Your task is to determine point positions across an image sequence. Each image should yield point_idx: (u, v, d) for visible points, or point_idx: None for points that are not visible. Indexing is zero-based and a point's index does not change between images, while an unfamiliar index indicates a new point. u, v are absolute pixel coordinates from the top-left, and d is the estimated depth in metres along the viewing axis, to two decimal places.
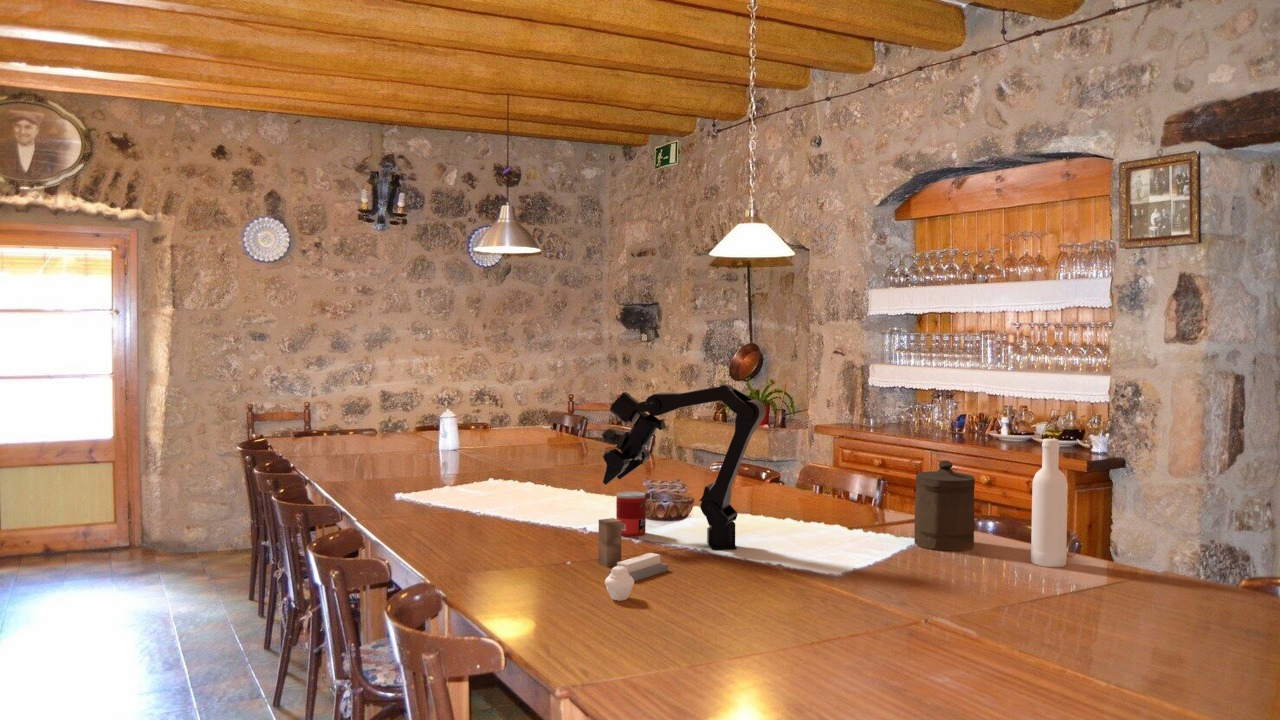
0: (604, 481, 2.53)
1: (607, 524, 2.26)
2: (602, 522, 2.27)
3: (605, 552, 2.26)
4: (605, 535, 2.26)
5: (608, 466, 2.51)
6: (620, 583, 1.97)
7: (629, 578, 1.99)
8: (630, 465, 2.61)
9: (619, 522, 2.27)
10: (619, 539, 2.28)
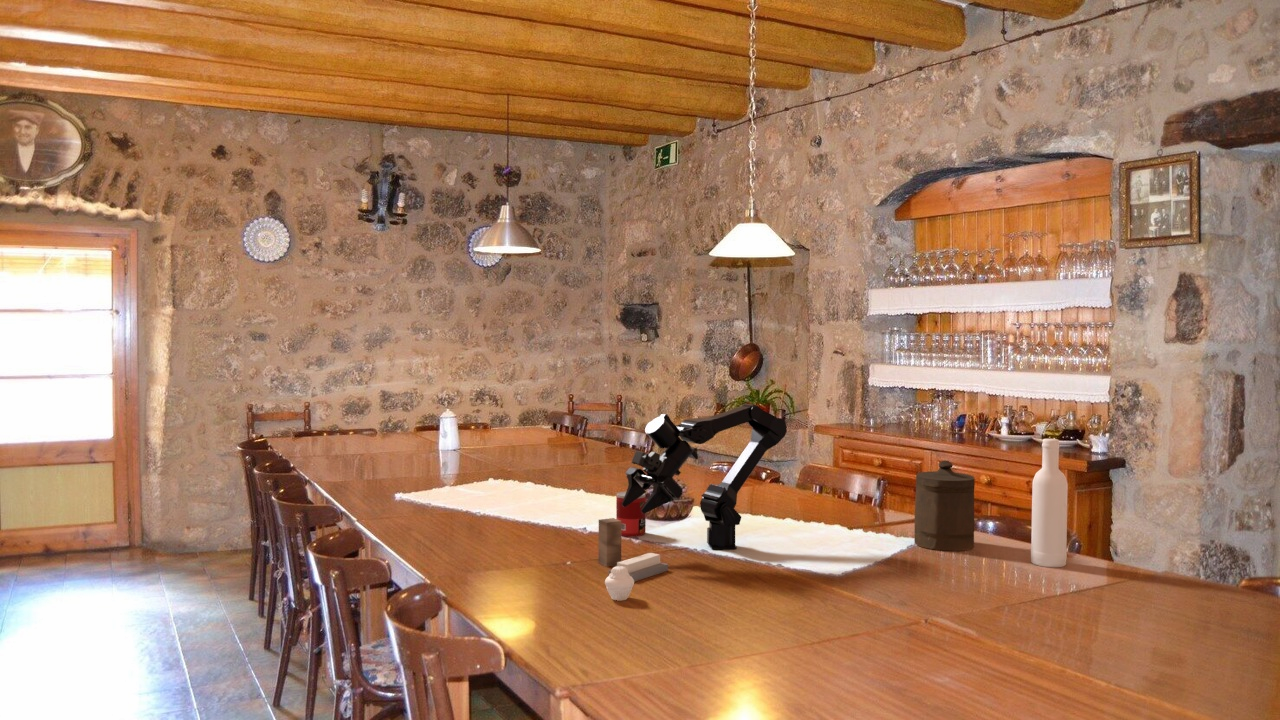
0: (644, 510, 2.27)
1: (607, 524, 2.26)
2: (602, 522, 2.27)
3: (605, 552, 2.26)
4: (605, 535, 2.26)
5: (656, 494, 2.27)
6: (620, 583, 1.97)
7: (629, 578, 1.99)
8: (637, 492, 2.38)
9: (619, 522, 2.27)
10: (619, 539, 2.28)
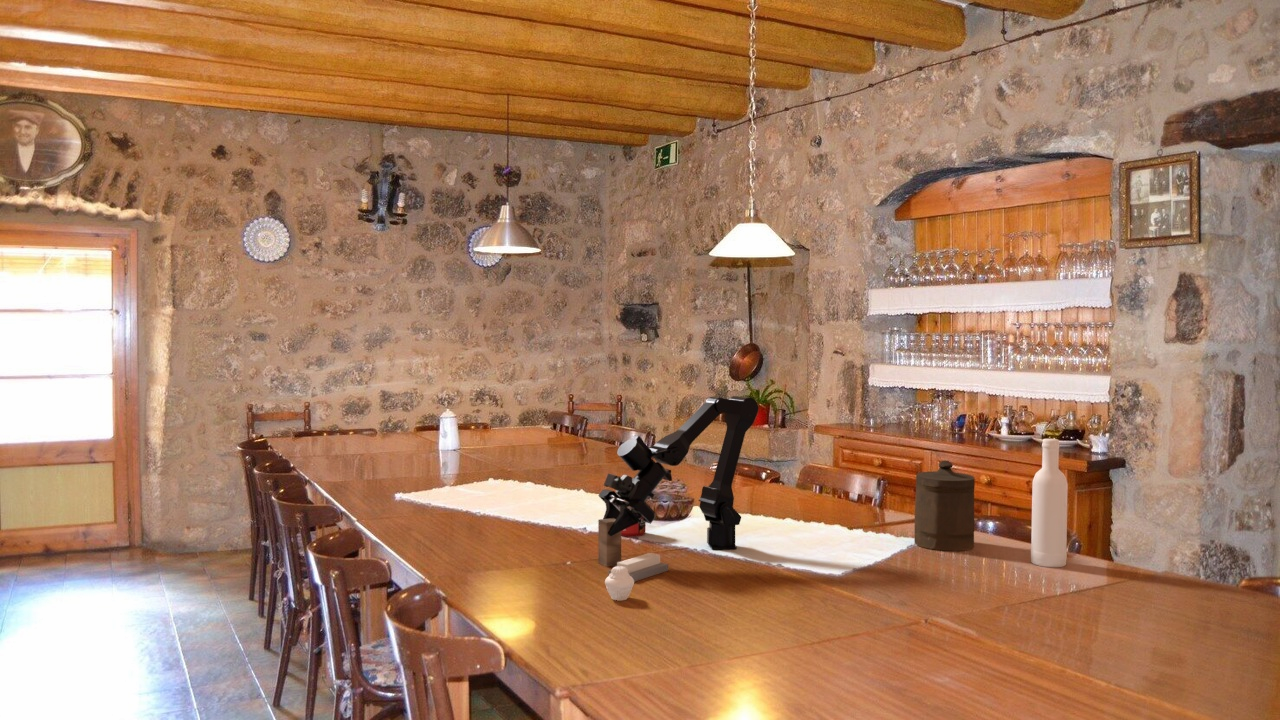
0: (611, 532, 2.26)
1: (606, 524, 2.26)
2: (602, 522, 2.27)
3: (605, 552, 2.26)
4: (605, 535, 2.26)
5: (623, 516, 2.26)
6: (620, 583, 1.97)
7: (629, 578, 1.99)
8: (615, 516, 2.32)
9: None
10: (619, 539, 2.28)
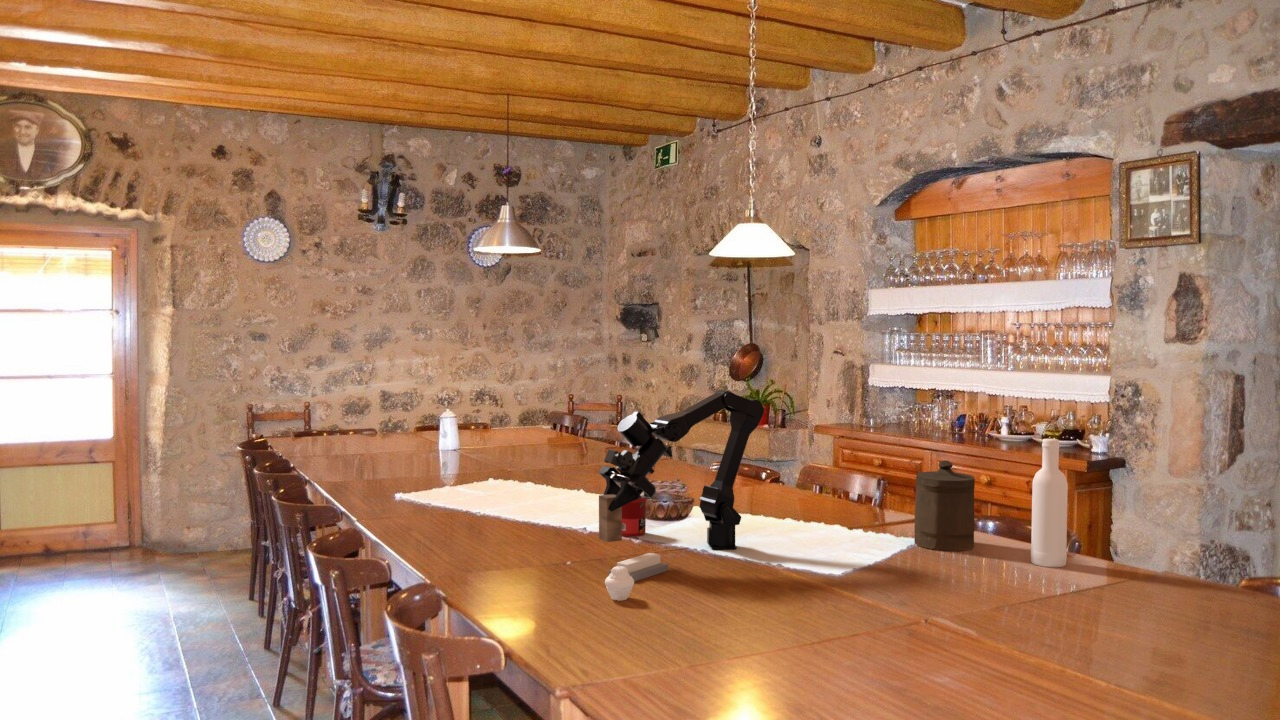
0: (611, 507, 2.25)
1: (607, 499, 2.25)
2: (602, 498, 2.27)
3: (605, 528, 2.26)
4: (605, 511, 2.26)
5: (624, 491, 2.25)
6: (620, 583, 1.97)
7: (629, 578, 1.99)
8: (615, 493, 2.32)
9: None
10: (619, 515, 2.27)
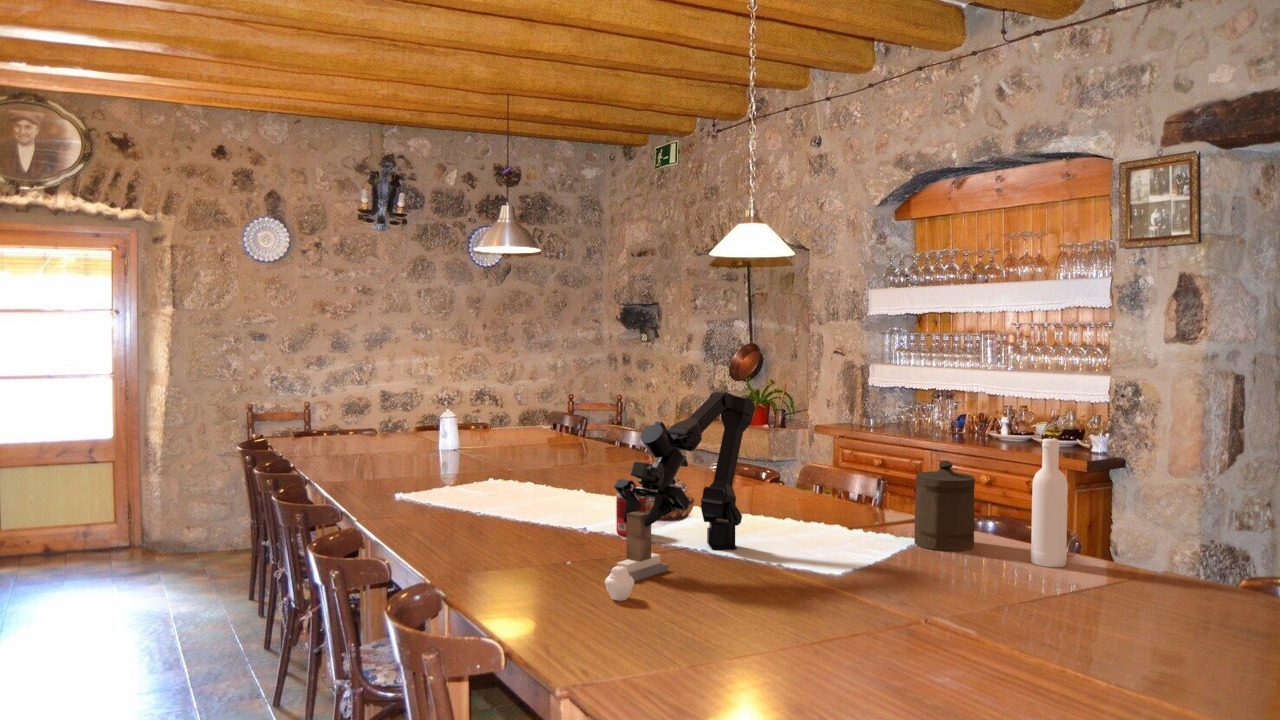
0: (647, 523, 2.16)
1: (640, 517, 2.17)
2: (633, 515, 2.18)
3: (638, 546, 2.17)
4: (638, 529, 2.17)
5: (659, 505, 2.17)
6: (620, 583, 1.97)
7: (629, 578, 1.99)
8: (635, 506, 2.24)
9: None
10: (649, 532, 2.19)
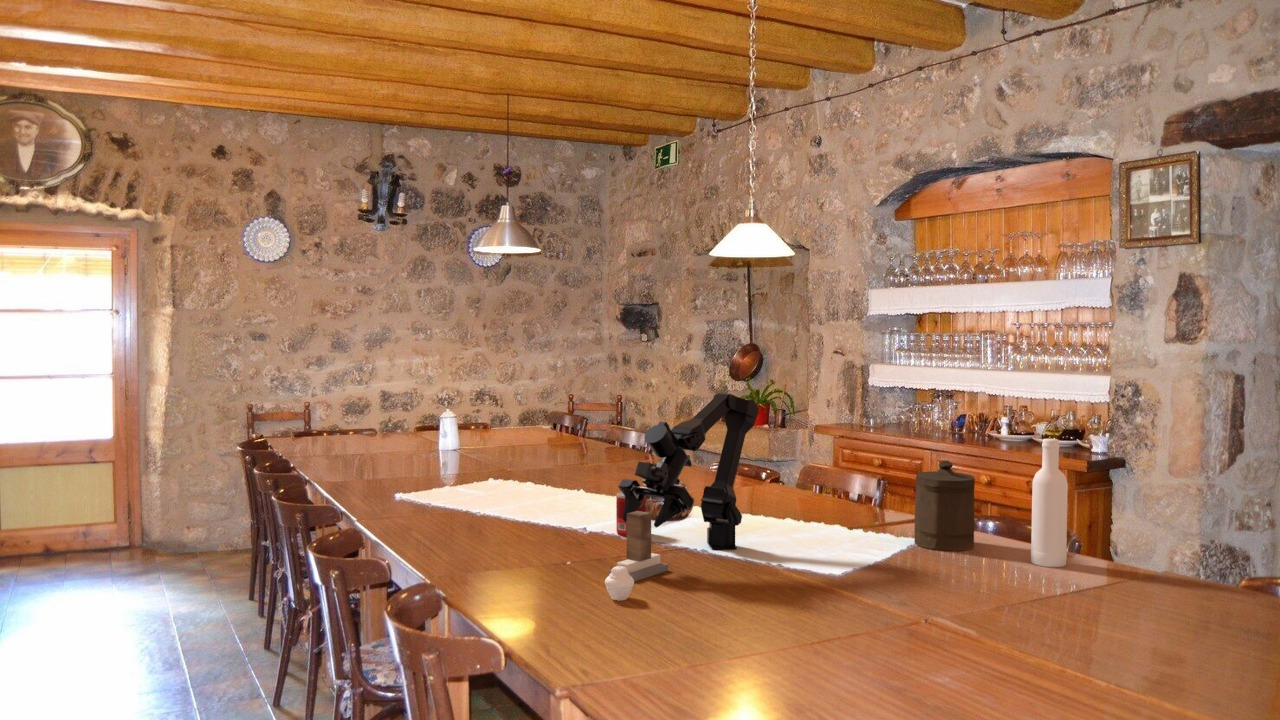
0: (657, 523, 2.17)
1: (640, 517, 2.17)
2: (633, 515, 2.18)
3: (638, 546, 2.17)
4: (638, 529, 2.17)
5: (669, 505, 2.18)
6: (620, 583, 1.97)
7: (629, 578, 1.99)
8: (634, 505, 2.26)
9: (649, 514, 2.19)
10: (649, 532, 2.19)
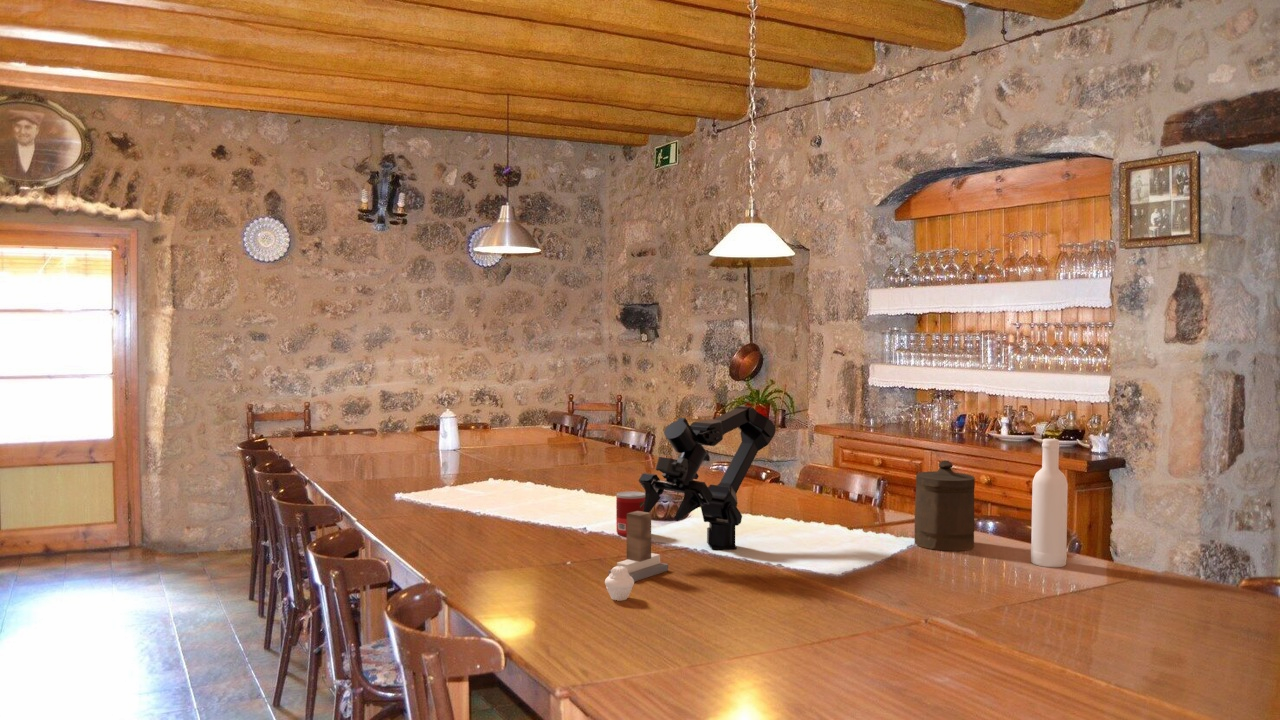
0: (677, 517, 2.23)
1: (640, 517, 2.17)
2: (633, 515, 2.18)
3: (638, 546, 2.17)
4: (638, 529, 2.17)
5: (689, 500, 2.24)
6: (620, 583, 1.97)
7: (629, 578, 1.99)
8: (654, 498, 2.32)
9: (649, 514, 2.19)
10: (649, 532, 2.19)
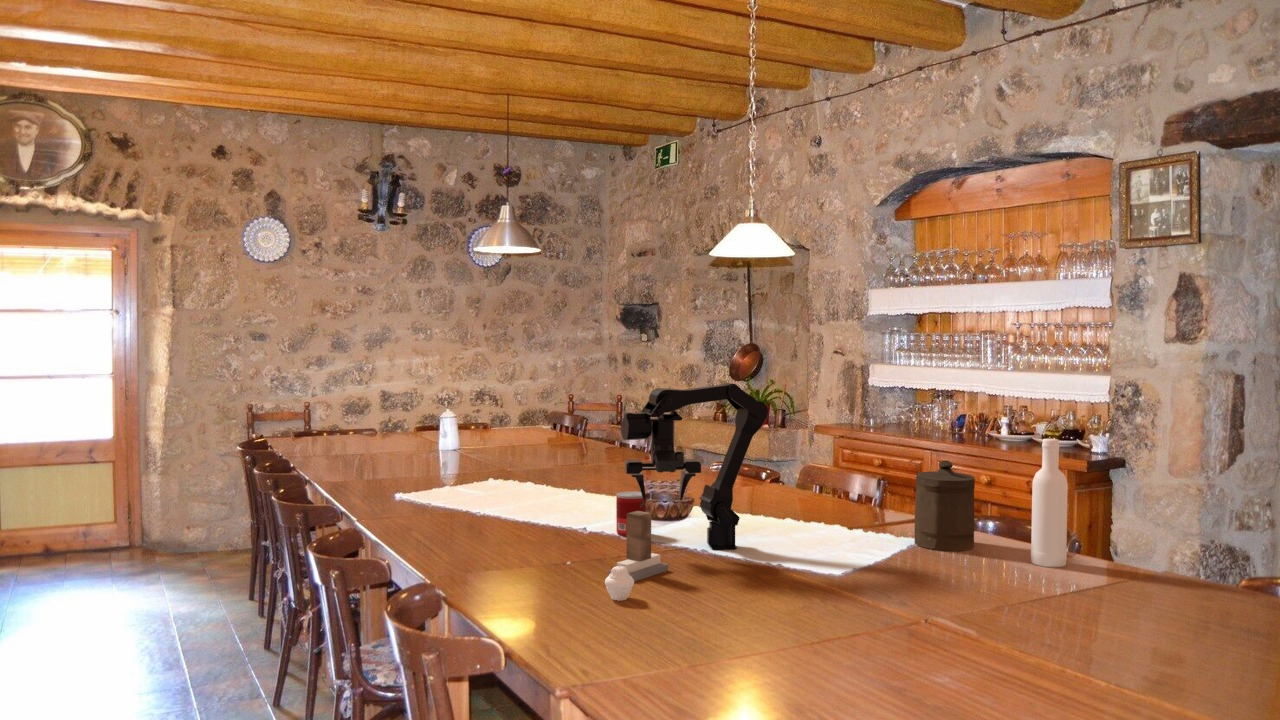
0: None
1: (640, 517, 2.17)
2: (633, 515, 2.18)
3: (638, 546, 2.17)
4: (638, 529, 2.17)
5: None
6: (620, 583, 1.97)
7: (629, 578, 1.99)
8: None
9: (649, 514, 2.19)
10: (649, 532, 2.19)
